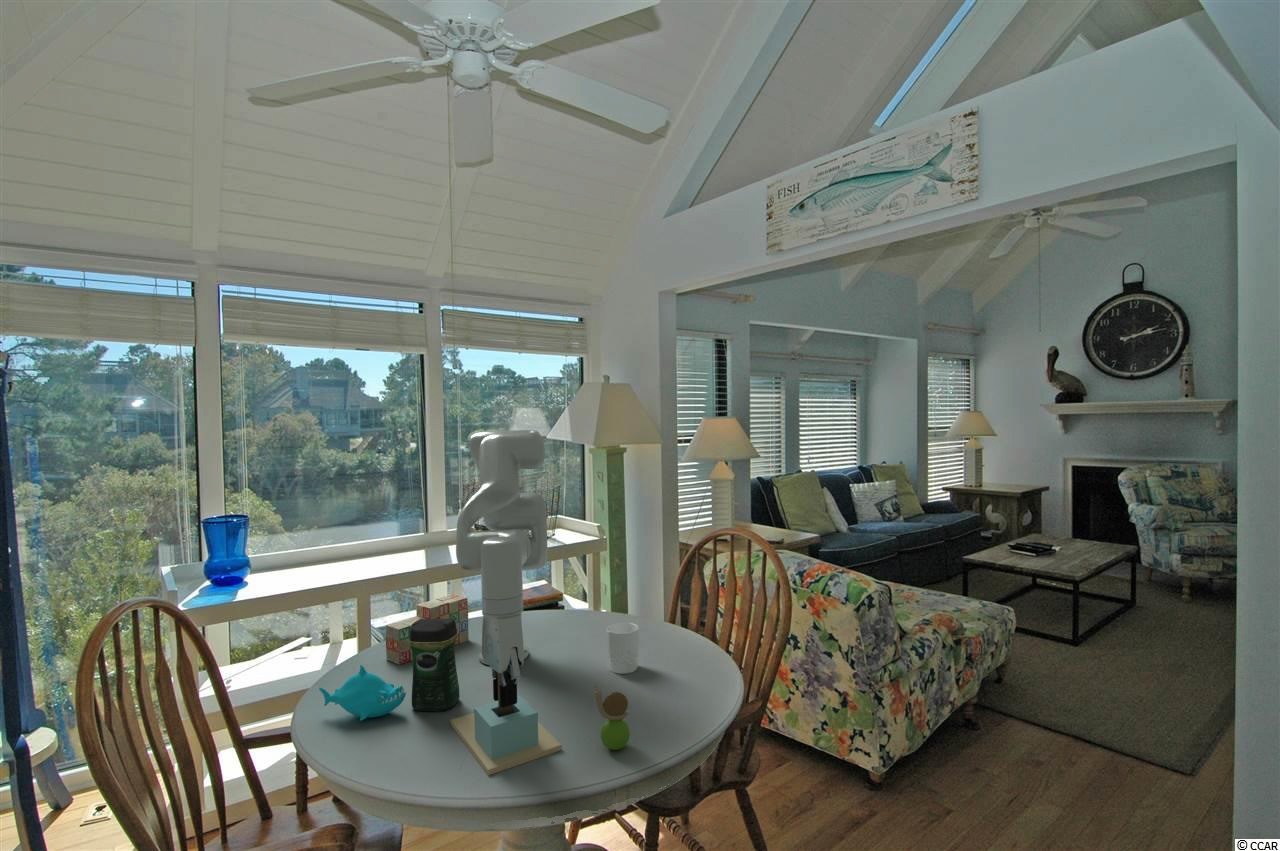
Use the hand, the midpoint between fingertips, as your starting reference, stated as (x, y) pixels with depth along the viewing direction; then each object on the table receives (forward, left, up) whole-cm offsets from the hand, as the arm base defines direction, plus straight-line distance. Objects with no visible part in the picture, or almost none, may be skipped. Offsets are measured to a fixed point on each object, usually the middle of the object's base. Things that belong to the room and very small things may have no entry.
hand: (505, 701), depth 116 cm
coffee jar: (-26, -6, -9) cm, 28 cm away
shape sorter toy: (-4, +1, -9) cm, 10 cm away
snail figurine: (+12, +16, -9) cm, 22 cm away
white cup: (-18, +37, -9) cm, 42 cm away
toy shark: (-30, -20, -9) cm, 37 cm away
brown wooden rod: (0, 0, -4) cm, 4 cm away
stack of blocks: (-60, +1, -9) cm, 61 cm away
